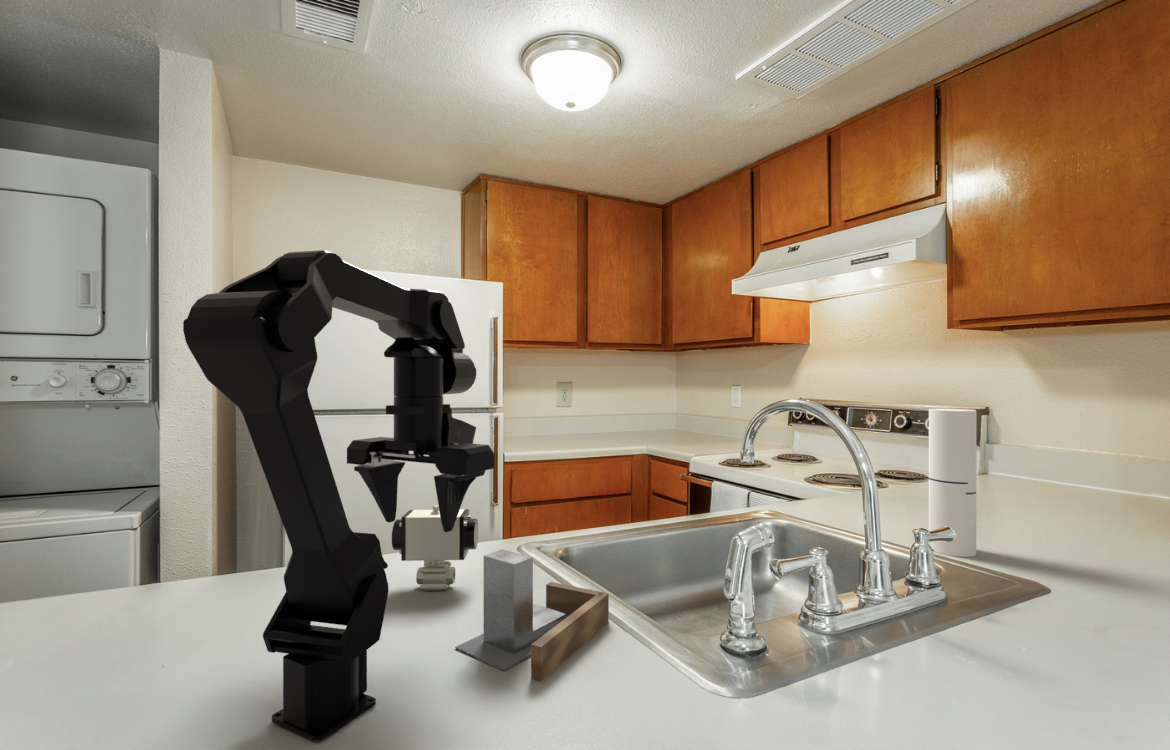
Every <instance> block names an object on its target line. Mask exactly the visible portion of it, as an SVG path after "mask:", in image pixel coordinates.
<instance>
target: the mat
mask: <svg viewBox="0 0 1170 750" xmlns="http://www.w3.org/2000/svg"><path fill="white" fill-rule="evenodd" d="M567 617H568V616H566V618H567ZM454 648H456V649H455V650H457V649H458V650H457V651H459V650H460V652H461V651H463V652H465V653H464V654H466V653H468V654H469V655H468V654H467V655H468V656H470V655H471V657H472V656H474V657H476V658H475V659H477V658H478V659H477V660H479V661H481V660H482V661H481V662H483V661H484V662H483V663H485V662H486V663H485V664H488V663H489V664H488V665H490V664H491V665H490V666H492V665H493V667H494V666H495V667H494V668H496V667H498V668H497V669H499V668H500V669H499V670H501V669H502V670H501V671H503V670H504V672H505V670H506V671H507V669H508V670H509V669H511V668H513V667H515V666H517V665H518V664H520V663H521V662H523V661H525V660H527V659H529V658H531V646H529V647H527V648H525V649H523V650H522V651H520V652H518V653H516V654H512V653H510V652H507V651H505V650H502V649H500V648H498V647H495V646H493V645H490V644H488V643H486V642H484V633H482V634H480V635H477V636H476V637H473V638H471V639H469V640H467V641H465V642H463V643H461V644H459V645H457V646H454ZM463 652H462V653H463ZM474 657H473V658H474Z"/></svg>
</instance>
